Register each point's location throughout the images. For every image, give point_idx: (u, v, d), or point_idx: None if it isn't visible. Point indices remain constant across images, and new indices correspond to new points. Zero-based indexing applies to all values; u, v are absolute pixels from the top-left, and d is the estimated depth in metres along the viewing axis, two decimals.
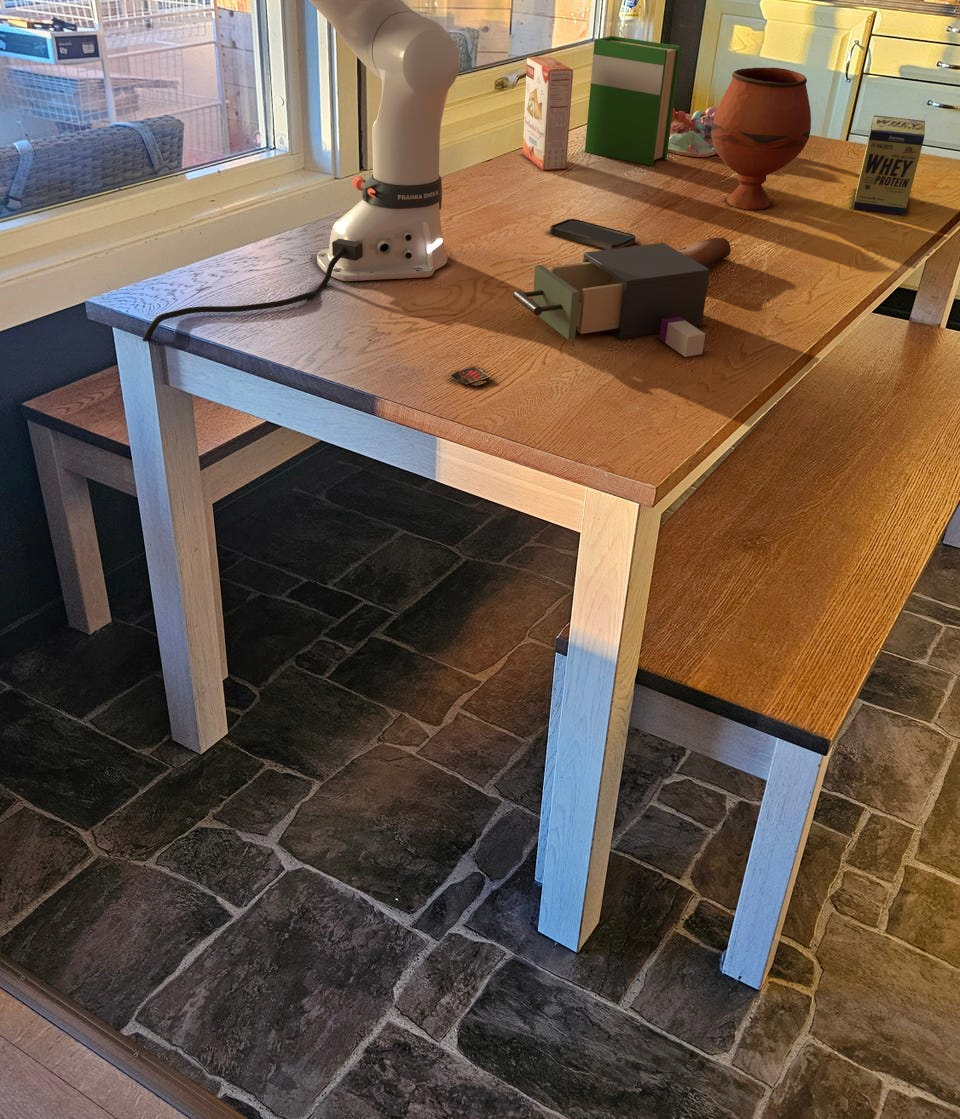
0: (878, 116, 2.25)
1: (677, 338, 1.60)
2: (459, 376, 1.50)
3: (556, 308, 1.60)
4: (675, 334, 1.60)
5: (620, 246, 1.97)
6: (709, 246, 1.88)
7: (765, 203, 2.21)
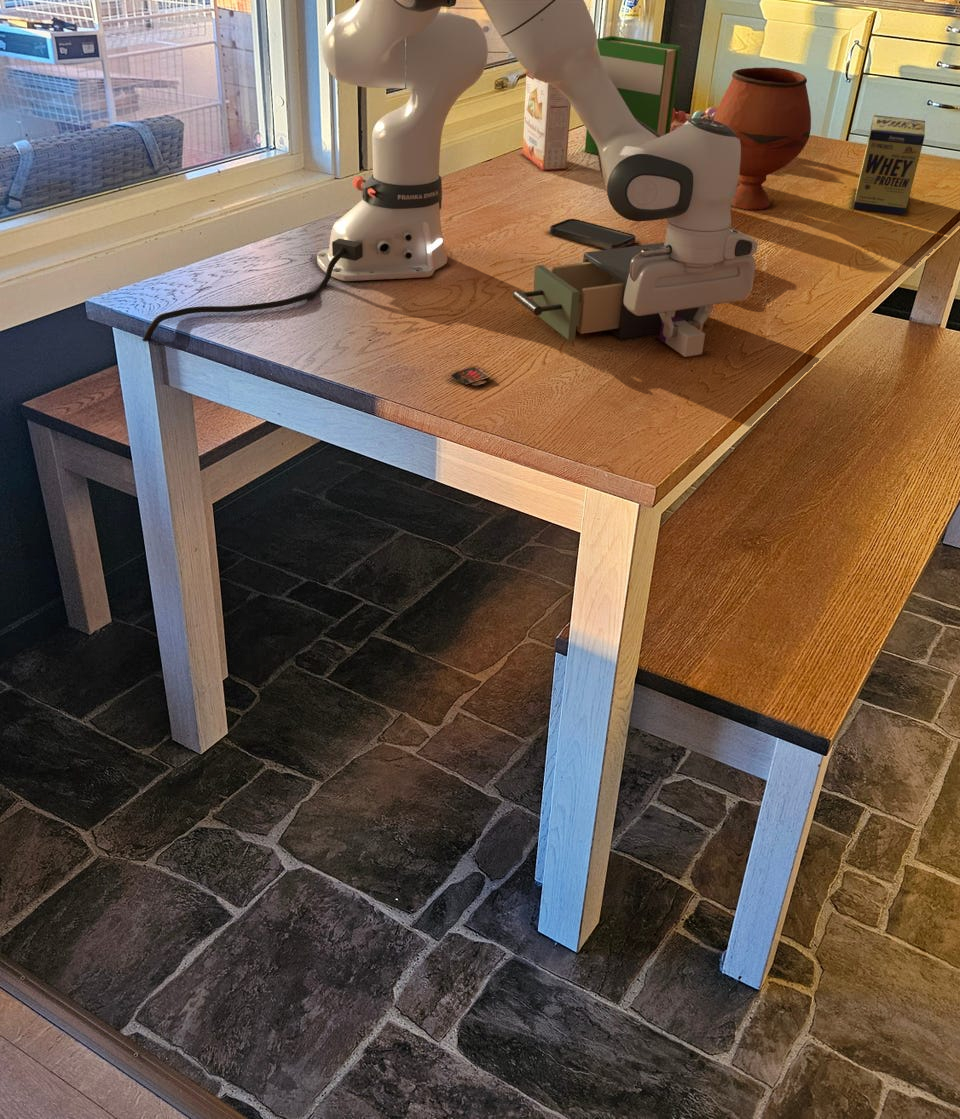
0: (878, 116, 2.25)
1: (677, 338, 1.60)
2: (459, 376, 1.50)
3: (556, 308, 1.60)
4: None
5: (620, 246, 1.97)
6: None
7: (765, 203, 2.21)
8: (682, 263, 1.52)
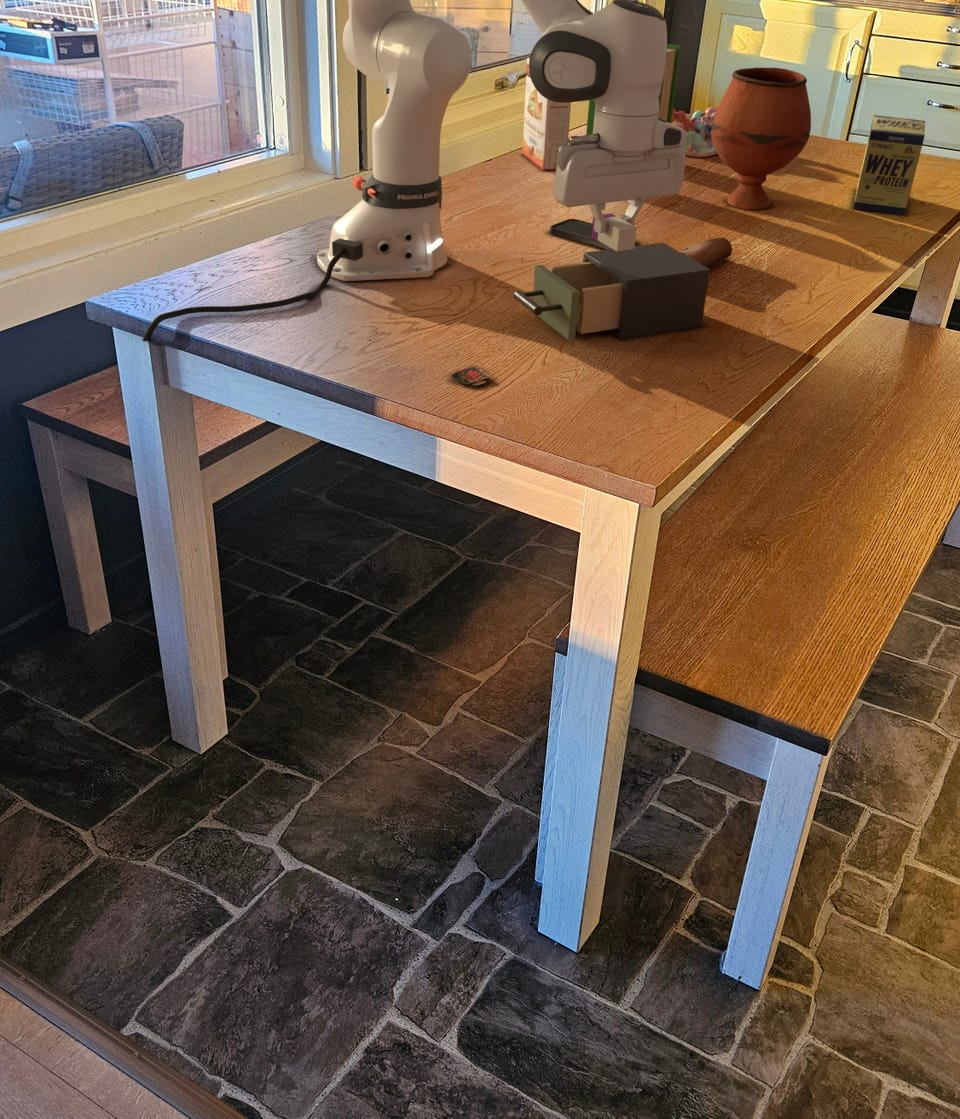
0: (878, 116, 2.25)
1: (608, 233, 1.58)
2: (459, 376, 1.50)
3: (556, 308, 1.60)
4: None
5: None
6: (710, 246, 1.88)
7: (765, 203, 2.21)
8: (611, 152, 1.50)
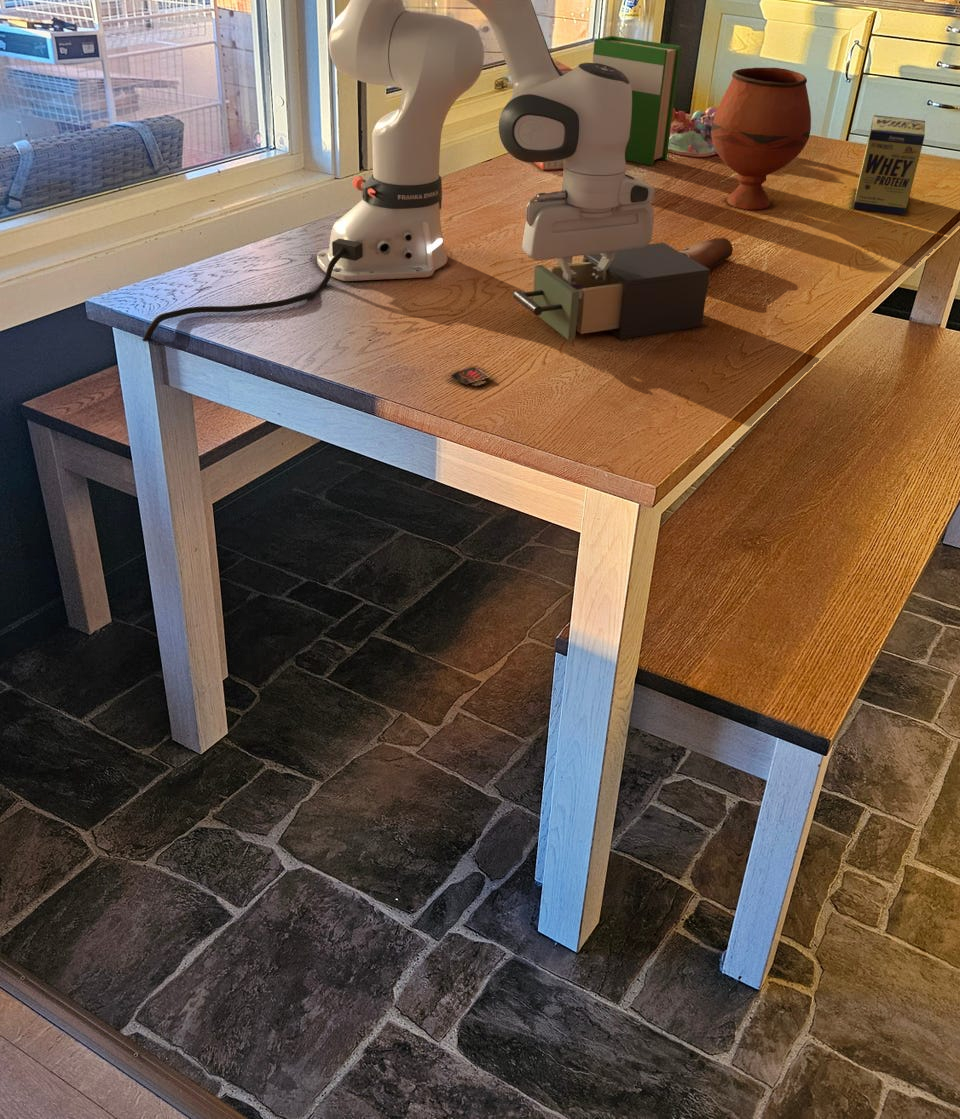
0: (878, 116, 2.25)
1: None
2: (459, 376, 1.50)
3: (556, 308, 1.60)
4: None
5: None
6: (711, 246, 1.88)
7: (765, 203, 2.21)
8: (578, 208, 1.54)
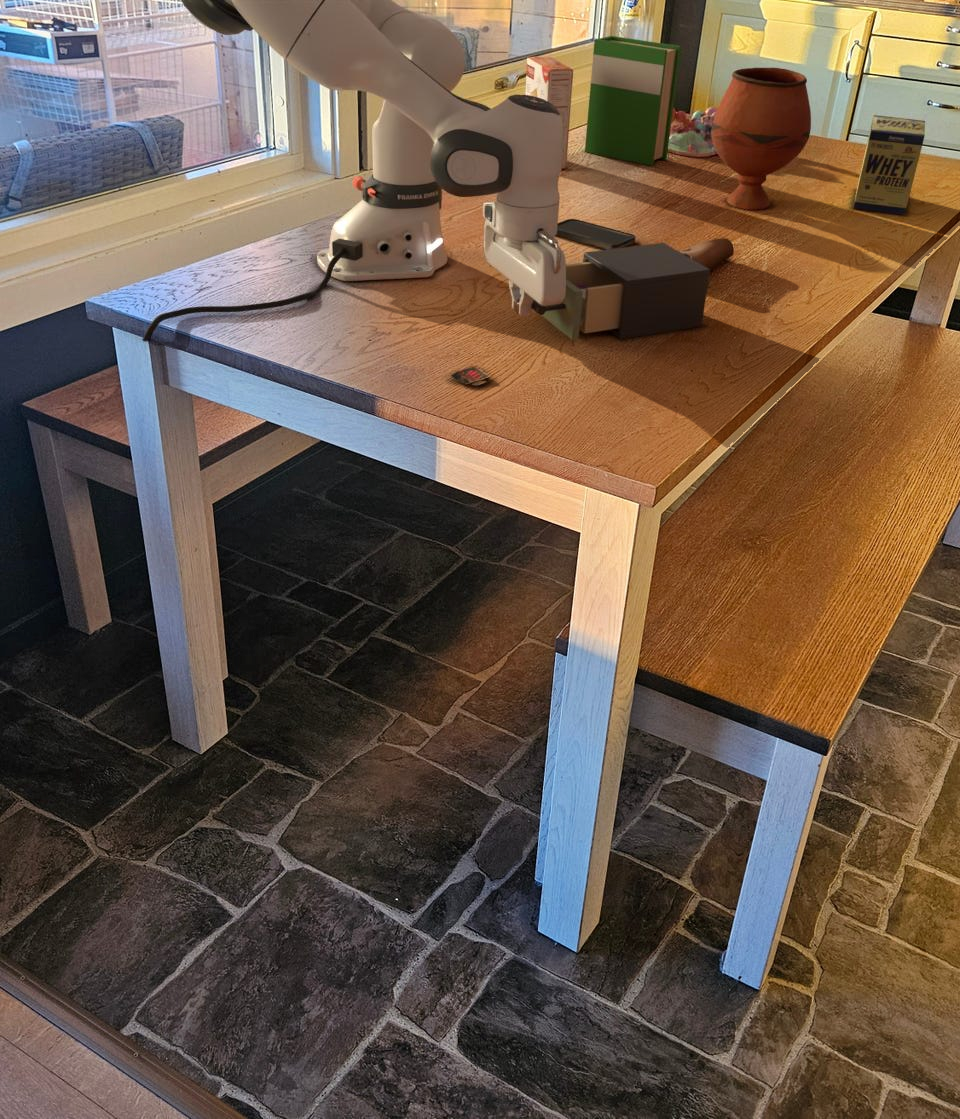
0: (878, 116, 2.25)
1: None
2: (459, 376, 1.50)
3: (560, 308, 1.60)
4: None
5: (620, 246, 1.97)
6: (713, 247, 1.88)
7: (765, 203, 2.21)
8: None
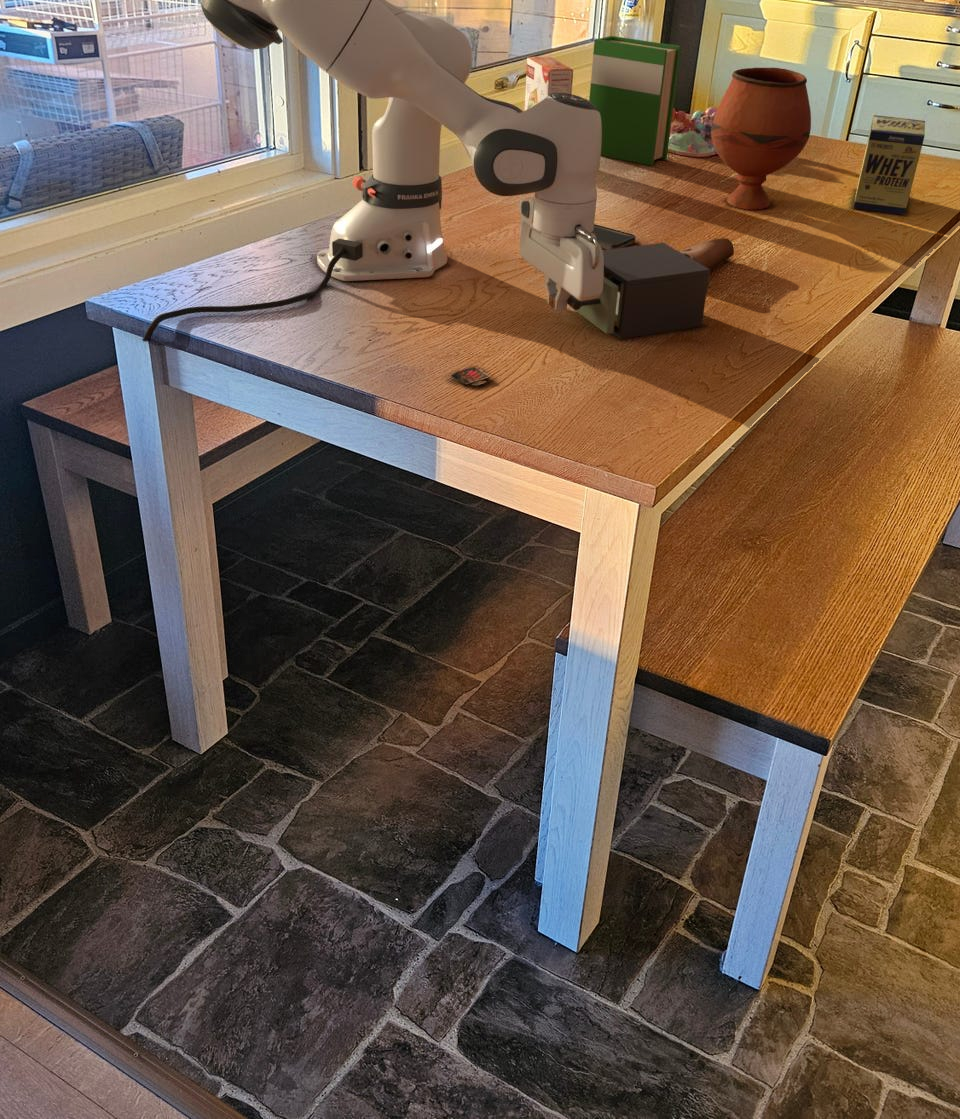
0: (878, 116, 2.25)
1: None
2: (459, 376, 1.50)
3: (595, 302, 1.62)
4: None
5: (620, 246, 1.97)
6: (713, 247, 1.88)
7: (765, 203, 2.21)
8: None
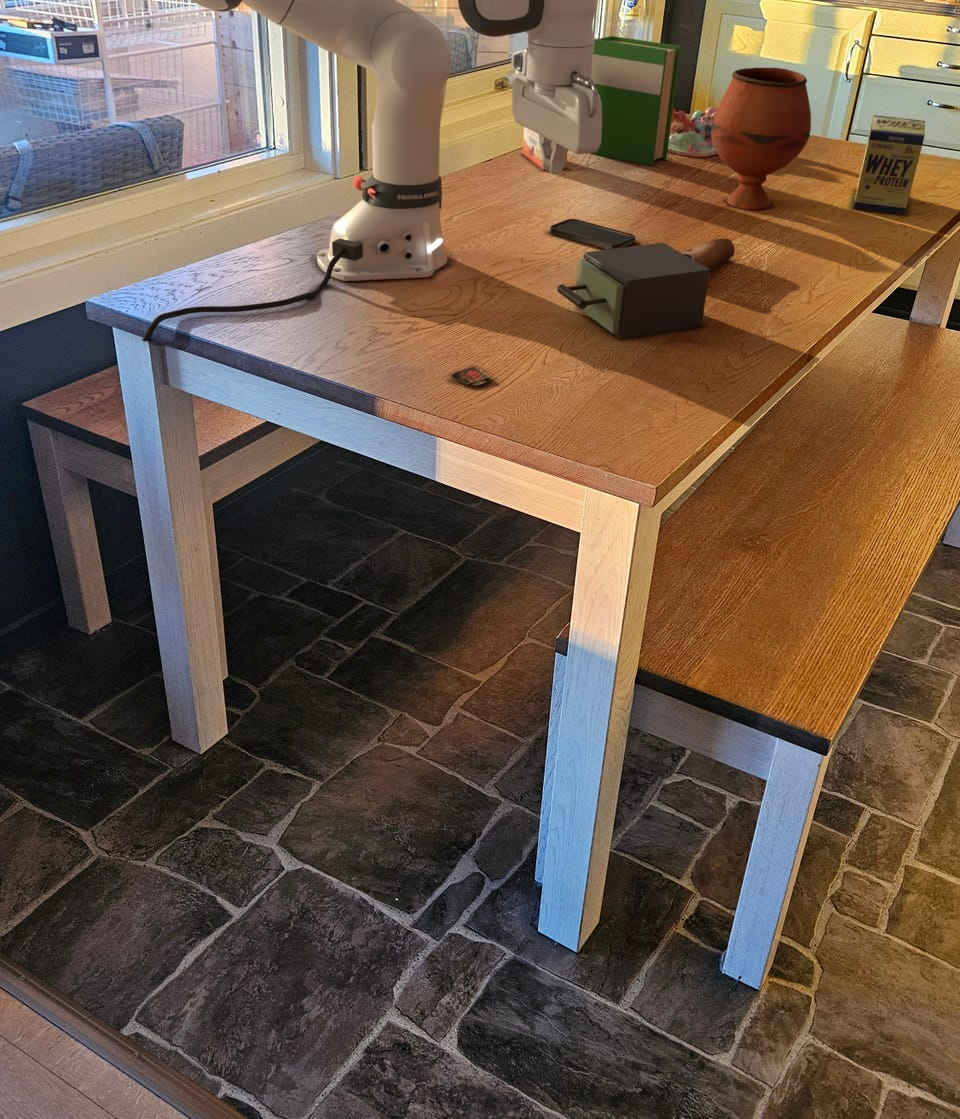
0: (878, 116, 2.25)
1: None
2: (459, 376, 1.50)
3: (600, 302, 1.62)
4: None
5: (620, 246, 1.97)
6: (714, 247, 1.88)
7: (765, 203, 2.21)
8: None
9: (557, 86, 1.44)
